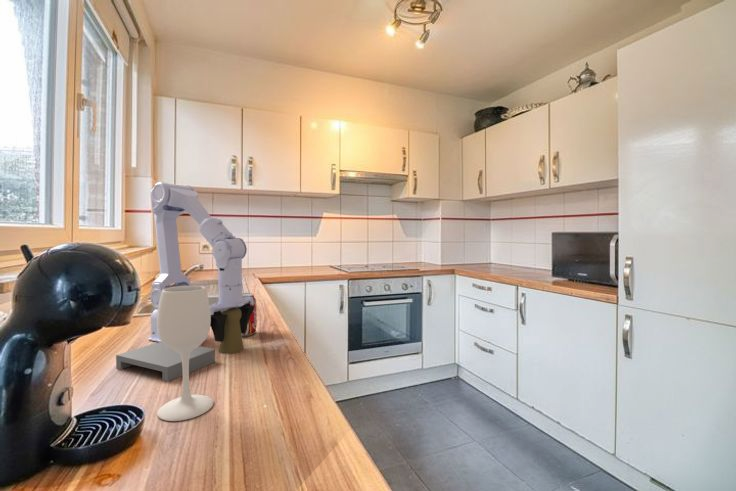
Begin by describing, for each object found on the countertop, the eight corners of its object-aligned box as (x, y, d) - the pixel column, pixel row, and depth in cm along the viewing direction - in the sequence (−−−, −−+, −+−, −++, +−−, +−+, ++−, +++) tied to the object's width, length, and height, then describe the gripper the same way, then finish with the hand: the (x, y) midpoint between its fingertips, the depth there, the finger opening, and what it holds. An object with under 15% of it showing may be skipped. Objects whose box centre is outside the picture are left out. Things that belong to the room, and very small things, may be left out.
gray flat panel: (116, 368, 78) (116, 355, 78) (166, 351, 89) (166, 340, 89) (167, 381, 72) (167, 367, 71) (215, 361, 82) (214, 349, 82)
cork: (247, 346, 94) (247, 305, 93) (236, 354, 88) (236, 310, 87) (226, 345, 94) (225, 305, 94) (214, 353, 88) (213, 310, 88)
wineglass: (224, 401, 63) (222, 286, 63) (185, 426, 55) (182, 294, 54) (187, 393, 66) (185, 283, 65) (144, 416, 58) (142, 291, 57)
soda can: (251, 338, 101) (251, 296, 101) (227, 337, 101) (227, 296, 101) (259, 331, 108) (259, 292, 108) (237, 330, 108) (236, 292, 108)
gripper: (219, 290, 82) (220, 347, 83) (261, 282, 95) (262, 331, 96) (198, 288, 85) (198, 343, 86) (241, 280, 98) (242, 328, 99)
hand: (230, 336), depth 91 cm, fingers open, 7 cm apart
